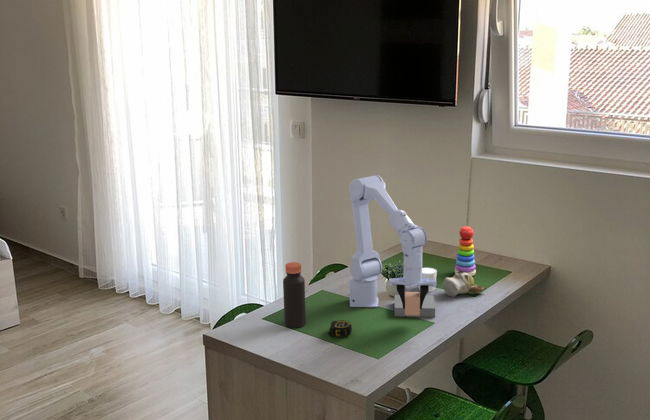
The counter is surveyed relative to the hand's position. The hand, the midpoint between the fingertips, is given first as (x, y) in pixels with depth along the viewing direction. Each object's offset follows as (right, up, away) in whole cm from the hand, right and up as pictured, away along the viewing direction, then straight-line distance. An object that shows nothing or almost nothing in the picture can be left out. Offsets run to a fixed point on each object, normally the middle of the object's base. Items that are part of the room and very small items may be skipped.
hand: (412, 307), depth 217 cm
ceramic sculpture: (+21, +1, +26) cm, 34 cm away
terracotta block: (0, -2, 0) cm, 2 cm away
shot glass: (+9, +2, +31) cm, 32 cm away
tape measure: (-23, -8, -4) cm, 25 cm away
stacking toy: (+26, +6, +45) cm, 52 cm away
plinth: (+2, -3, +13) cm, 13 cm away
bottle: (-37, -6, +4) cm, 38 cm away
